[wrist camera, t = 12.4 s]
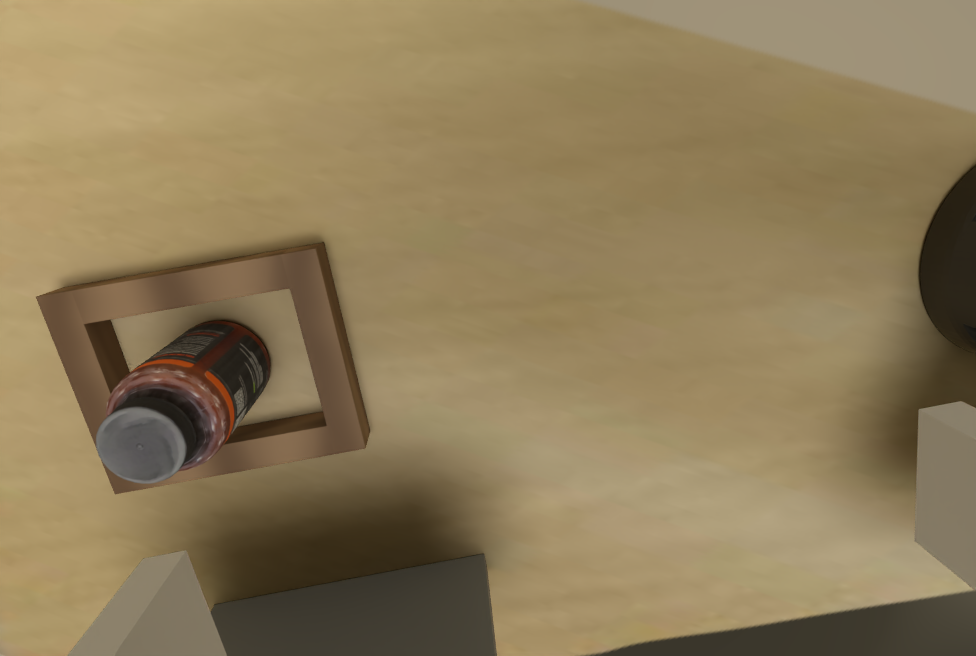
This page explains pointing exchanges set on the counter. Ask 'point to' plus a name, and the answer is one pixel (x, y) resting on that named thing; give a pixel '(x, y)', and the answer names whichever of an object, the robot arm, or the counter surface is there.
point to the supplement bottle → (182, 402)
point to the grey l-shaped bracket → (369, 616)
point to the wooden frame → (305, 270)
